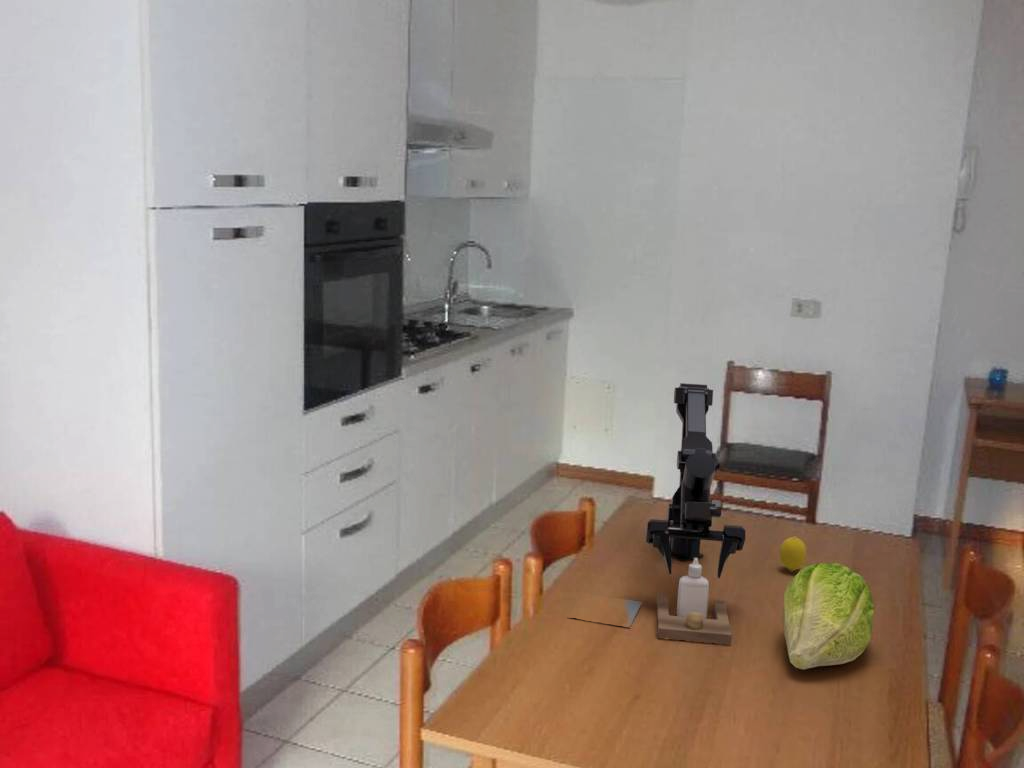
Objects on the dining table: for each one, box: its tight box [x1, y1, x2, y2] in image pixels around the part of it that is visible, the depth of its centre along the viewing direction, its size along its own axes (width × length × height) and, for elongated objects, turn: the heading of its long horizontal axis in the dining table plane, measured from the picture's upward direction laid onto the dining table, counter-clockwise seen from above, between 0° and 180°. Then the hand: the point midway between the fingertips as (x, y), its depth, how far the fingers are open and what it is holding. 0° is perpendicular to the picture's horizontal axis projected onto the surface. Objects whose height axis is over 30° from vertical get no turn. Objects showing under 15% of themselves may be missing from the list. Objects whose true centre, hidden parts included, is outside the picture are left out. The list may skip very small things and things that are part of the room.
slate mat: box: [623, 599, 643, 627], centre depth 191 cm, size 12×12×1 cm
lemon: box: [779, 535, 807, 572], centre depth 214 cm, size 6×6×8 cm
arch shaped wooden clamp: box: [656, 595, 733, 646], centre depth 186 cm, size 15×13×4 cm
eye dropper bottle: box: [676, 558, 710, 619], centre depth 188 cm, size 4×6×12 cm
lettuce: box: [782, 562, 875, 670], centre depth 176 cm, size 15×25×16 cm
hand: (694, 575), depth 189 cm, fingers open, 9 cm apart
